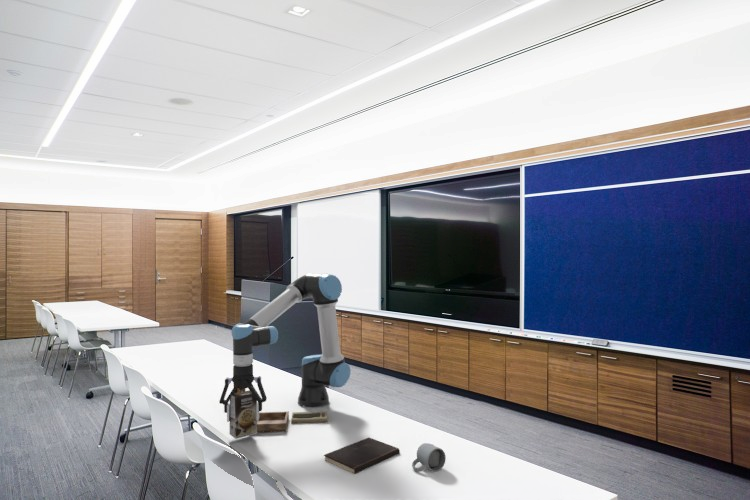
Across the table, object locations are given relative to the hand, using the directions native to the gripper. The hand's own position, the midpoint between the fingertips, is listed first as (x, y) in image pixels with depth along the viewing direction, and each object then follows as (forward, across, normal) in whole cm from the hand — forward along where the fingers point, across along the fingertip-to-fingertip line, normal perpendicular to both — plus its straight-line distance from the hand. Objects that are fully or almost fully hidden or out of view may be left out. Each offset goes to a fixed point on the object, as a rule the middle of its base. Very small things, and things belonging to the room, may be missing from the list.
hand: (243, 419), depth 190 cm
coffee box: (+6, 0, 0) cm, 6 cm away
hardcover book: (+9, +46, -21) cm, 51 cm away
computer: (+9, +26, +20) cm, 33 cm away
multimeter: (+8, -6, +48) cm, 49 cm away
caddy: (+8, +9, +14) cm, 18 cm away
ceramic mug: (+8, +67, -33) cm, 75 cm away
